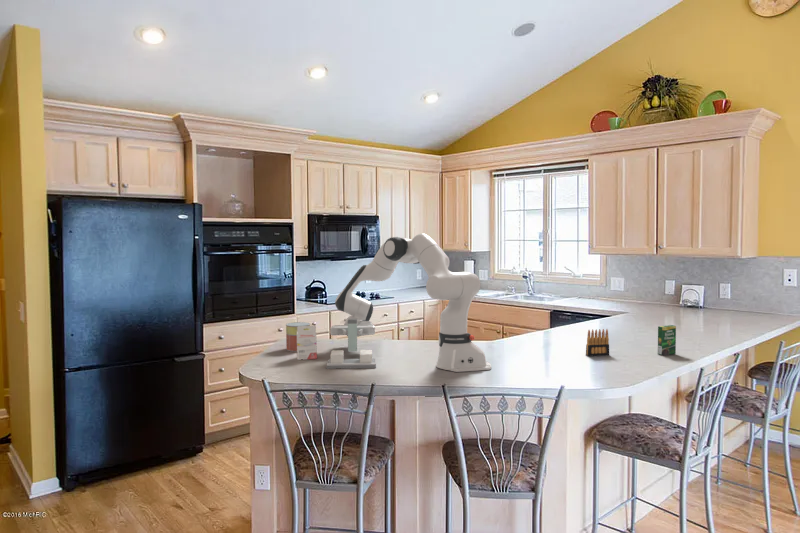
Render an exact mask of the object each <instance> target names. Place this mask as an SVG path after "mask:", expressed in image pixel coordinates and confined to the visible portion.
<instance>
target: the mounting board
mask: <svg viewBox="0 0 800 533" xmlns="http://www.w3.org/2000/svg"><path fill="white" fill-rule="evenodd" d="M336 368H341V369H376V368H377V362H376V358H373V350H372V349H360V350H359V358H345V353H344V349H342V350H341V349H337V350H335V349H334V350H331V352H330V358H329V359H328V360H327V363H326V369H327V370H329V369H331V370H332V369H336Z"/></svg>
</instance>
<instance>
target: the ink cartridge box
mask: <svg viewBox="0 0 800 533" xmlns="http://www.w3.org/2000/svg"><path fill="white" fill-rule="evenodd" d="M306 328H308V329H310V330H303V329H306ZM317 344H318V343H317V327H316V325H310V326H298V327H297V352H296V355H297V356H296V358H297V360H298V361H299V360H301V359H303V360H317V359H318V352H317V350H318V349H317V348H318V346H317Z"/></svg>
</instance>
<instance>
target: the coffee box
mask: <svg viewBox="0 0 800 533" xmlns="http://www.w3.org/2000/svg"><path fill="white" fill-rule="evenodd" d="M676 337H677V326H676V325H673V324H669V325H660V326H657V355H658V356H671V355H676V354H677V353H676V352H677V351H676V347H677V342H676V341H677V340H676V339H677V338H676Z"/></svg>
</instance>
